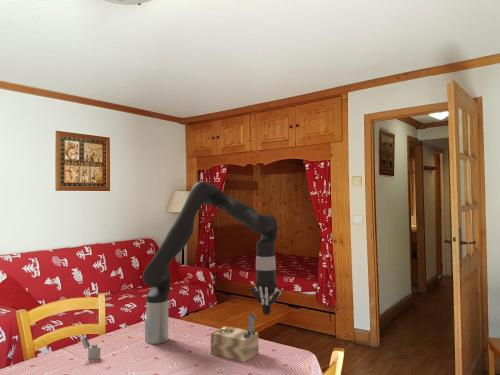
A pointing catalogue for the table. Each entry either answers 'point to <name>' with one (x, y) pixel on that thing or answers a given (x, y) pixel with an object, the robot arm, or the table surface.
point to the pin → (226, 329)
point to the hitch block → (234, 344)
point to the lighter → (91, 349)
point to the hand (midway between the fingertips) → (266, 314)
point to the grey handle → (251, 324)
